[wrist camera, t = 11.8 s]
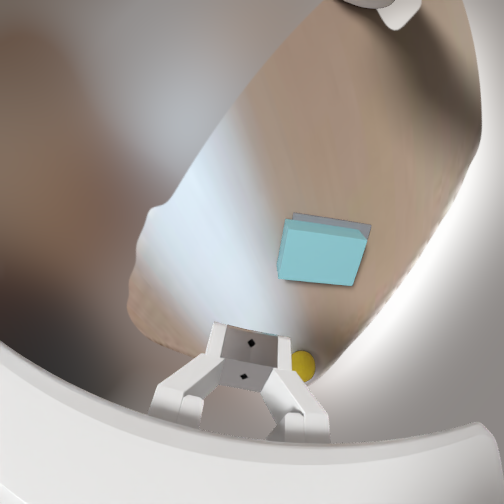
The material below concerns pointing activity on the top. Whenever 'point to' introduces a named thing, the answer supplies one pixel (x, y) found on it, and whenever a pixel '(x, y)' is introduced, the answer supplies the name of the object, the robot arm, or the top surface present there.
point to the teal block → (320, 253)
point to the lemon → (303, 365)
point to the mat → (334, 222)
